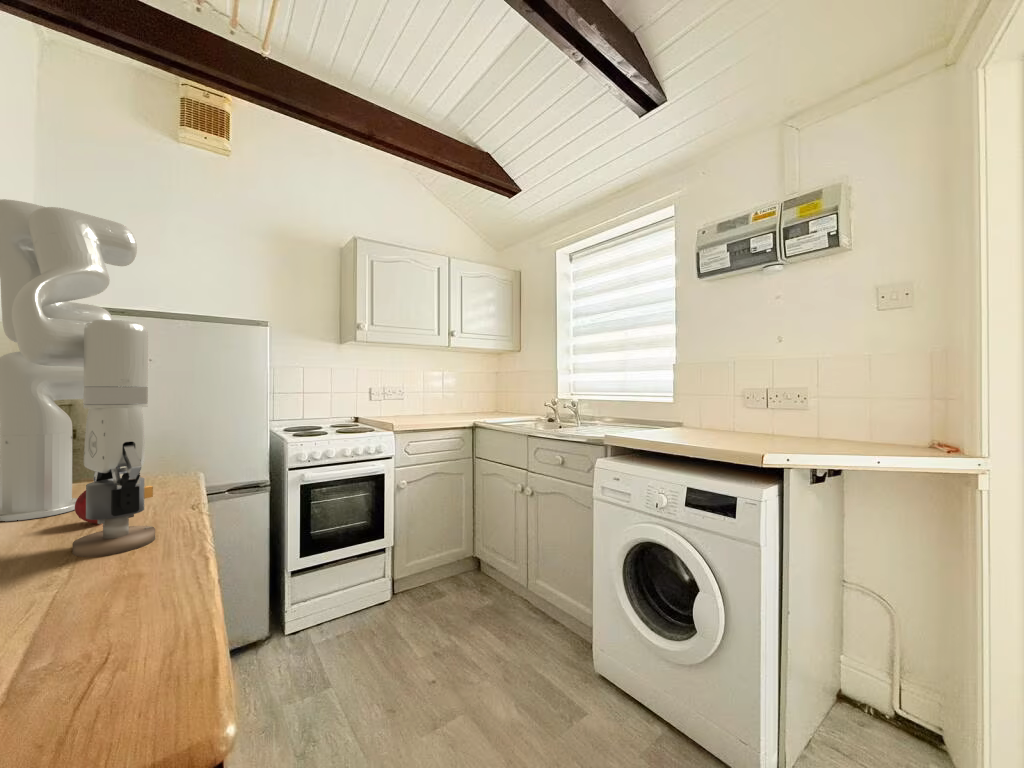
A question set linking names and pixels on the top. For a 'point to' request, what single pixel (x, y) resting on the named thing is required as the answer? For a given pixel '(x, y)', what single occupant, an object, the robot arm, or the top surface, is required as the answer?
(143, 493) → the grey striped cylinder
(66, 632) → the top surface
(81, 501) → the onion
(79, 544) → the post base
